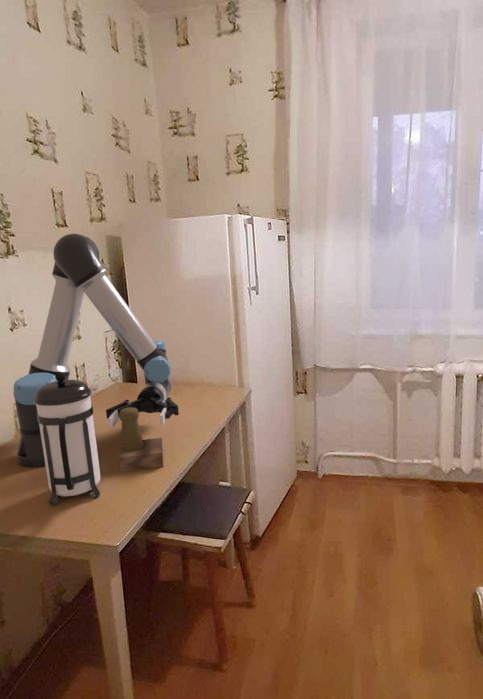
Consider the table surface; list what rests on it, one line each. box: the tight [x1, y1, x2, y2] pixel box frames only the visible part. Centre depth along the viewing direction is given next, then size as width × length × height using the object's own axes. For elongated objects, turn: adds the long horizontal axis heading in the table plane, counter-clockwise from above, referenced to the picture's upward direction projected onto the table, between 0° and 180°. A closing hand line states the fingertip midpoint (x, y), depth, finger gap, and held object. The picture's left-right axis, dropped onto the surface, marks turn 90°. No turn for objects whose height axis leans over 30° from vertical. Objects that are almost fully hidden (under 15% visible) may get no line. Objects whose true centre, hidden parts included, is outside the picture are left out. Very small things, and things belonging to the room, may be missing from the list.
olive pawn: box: [119, 407, 144, 451], centre depth 136 cm, size 6×6×11 cm
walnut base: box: [118, 437, 164, 473], centre depth 138 cm, size 11×11×4 cm
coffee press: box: [34, 372, 101, 506], centre depth 118 cm, size 17×16×30 cm
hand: (135, 421), depth 133 cm, fingers open, 13 cm apart
